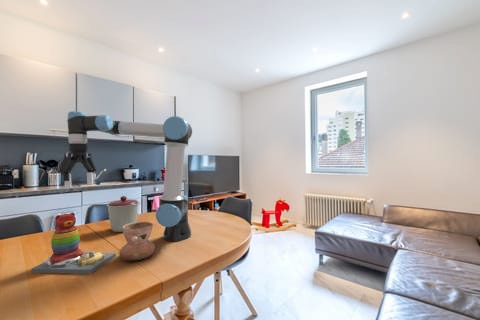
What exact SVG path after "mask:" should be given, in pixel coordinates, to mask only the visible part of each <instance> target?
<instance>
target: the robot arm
mask: <svg viewBox="0 0 480 320" xmlns="http://www.w3.org/2000/svg"><path fill="white" fill-rule="evenodd" d="M66 122H67V132H68V134H67V135H68V136H67V137H68V151H69V152H64V157H63V160H62V162H61V165H60V167H59V170H58V173H60V174H61V175H63V182H64V189H72V187H73V184H72V182H73V181H72V173H71V171H72V170H73V169H74V167H75V166H76V164H78V163H80V164H82V166H83V167H84V168H85V170H86V186H94V173H96V171H97V169H96V166H95V163H94V160H93V157H92V154H91V153H87V152H88V151H89V149H88V148H89V147H88V146H89V145H88V144H87V143H88V132H101V133H106V134H110V135H113V136H119V135H122V136H133V137H134V136H135V137H136V136H137V137H138V136H139V137H146V138H147V137H150V138H159V139H160V138H164V142H163V143H164V144H165V145H166V157H165V158H166V159H165V171H164V182H163V193H162V195H161V196H160V197H159V205H158V207H157V209H156V211H155V220H156V221H157V223H158V224H160V225H161V226H162V227H164V231H163V234H162V237H163V238H162V239H163V240H165V241H170V242H176V241H177V242H178V241H183V240H187V239H189V238H190V237H192V230H191V227H190V224H189V223H190V222H189V216H188V215H189V206H188V205H189V203H188V202H189V199H188V196H187V195H182V189H183V187H182V186H183V174H184V163H185V150H186V148H187V147H188V146H189V141H190V138H191V137H192V135H193V128H192V127H191V124H190V123H189V122H188V121H187V120H186V119H185V118H183V117H181V116H177V115H173V116H170V117H168V118H167V119H166V120H164V122H163V123H151V122H137V121H123V120H113V118H111V116H109V115H105V114H104V115H103V114H100V115H87V114H86V113H85V112H83V111H76V110H72V111H69V112H68V113H67V119H66Z"/></svg>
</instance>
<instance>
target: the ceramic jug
mask: <svg viewBox="0 0 480 320" xmlns="http://www.w3.org/2000/svg"><path fill="white" fill-rule="evenodd" d="M153 226H154V224H153V223H152V222H149V221H136V222H135V223H130V224H127V225H124V226H123V232H122V233H123V236H124V238H125V240H126V242H127V243H126V244H124V245H123V246H122V247H121V248H120V249H119V252H118V254H119V257H120V258H121V259H122V260H124V261H128V262H133V261H134V262H137V261H141V260H144V259H146V258H148V257H150V256H151V255H153V254H154V252H155V251H156V245H155V243H154V242H151V241H150V240H149V238H150V236H151V233H152V230H153Z"/></svg>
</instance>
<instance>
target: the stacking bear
mask: <svg viewBox="0 0 480 320" xmlns="http://www.w3.org/2000/svg"><path fill="white" fill-rule="evenodd" d="M75 215H76V213H74V212H71V213H70V212H69V213H63V214H58V215H56V216H55V222H54V223H55V226H56V229H55V230H54V231H53V233H52V237H51V240H50V241H51V242H50V246H51V250H52V252H53V253H52V256H51V255H50V256H51V257H50V263H59V262H61V261H64V260H67V259H70V258H77V257H80V256H82V255H83V254H84V253H83V249H82V250H81V248H79V245H80V238H81V236H80V233H79V229H78V227H77V226H76V222H77V219H76V217H75Z"/></svg>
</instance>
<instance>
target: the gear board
mask: <svg viewBox="0 0 480 320" xmlns="http://www.w3.org/2000/svg"><path fill="white" fill-rule="evenodd" d="M116 256H117V253H116V252H101V251H98V252H95V251H94V250H91V251H88V254H86V255H85V256H83V257H82V258H79V259H78V262H76V263H73V264H70V266H67V267H65V266H62V267H55V268H53V269H48V266H43V262H42V263H40V264H38V265H36V266H34V267H31V268H30V269H31V271H30V272H31V273H33V274H34V273H35V274H38V273H39V274H40V273H44V274H45V273H46V274H84V275H85V274H87V275H88V274H93V273H94V272H96V271H98V270H99V269H100V268H101V267H103V266H104V265H106V264H107V263H108V262H110V261H111V260H113V259H114V258H115V257H116Z"/></svg>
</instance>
